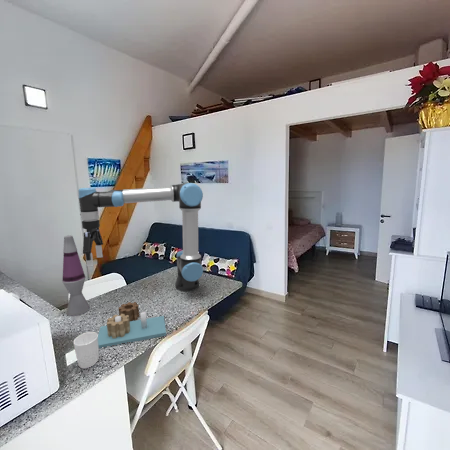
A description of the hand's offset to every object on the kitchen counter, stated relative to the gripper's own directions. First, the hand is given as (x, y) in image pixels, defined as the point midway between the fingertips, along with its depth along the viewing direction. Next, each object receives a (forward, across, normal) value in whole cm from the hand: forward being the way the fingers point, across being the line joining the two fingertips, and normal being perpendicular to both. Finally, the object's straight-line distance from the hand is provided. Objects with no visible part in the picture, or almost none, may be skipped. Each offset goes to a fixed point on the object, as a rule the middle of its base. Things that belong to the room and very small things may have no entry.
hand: (95, 261), depth 125 cm
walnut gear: (+27, +10, +16) cm, 33 cm away
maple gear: (+25, +24, +15) cm, 38 cm away
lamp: (+27, -2, -12) cm, 29 cm away
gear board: (+27, +23, +20) cm, 40 cm away
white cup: (+27, +39, +8) cm, 48 cm away
